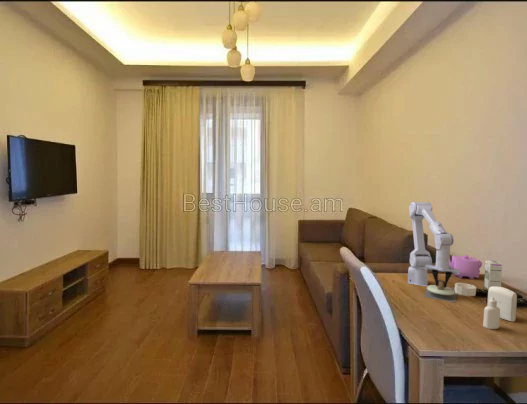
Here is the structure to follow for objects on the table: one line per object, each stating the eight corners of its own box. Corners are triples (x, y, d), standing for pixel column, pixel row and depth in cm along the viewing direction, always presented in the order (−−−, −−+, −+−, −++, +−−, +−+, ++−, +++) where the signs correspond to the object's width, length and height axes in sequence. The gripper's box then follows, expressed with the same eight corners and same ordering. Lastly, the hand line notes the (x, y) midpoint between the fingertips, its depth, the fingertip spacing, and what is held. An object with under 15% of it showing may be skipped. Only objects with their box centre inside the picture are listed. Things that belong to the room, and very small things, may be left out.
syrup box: (501, 291, 171) (503, 263, 169) (488, 290, 172) (490, 262, 171) (495, 287, 176) (497, 260, 175) (483, 286, 177) (485, 259, 176)
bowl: (454, 294, 165) (454, 286, 165) (454, 289, 173) (455, 281, 172) (475, 298, 160) (476, 290, 160) (475, 292, 168) (475, 284, 168)
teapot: (478, 275, 197) (479, 254, 196) (483, 280, 188) (485, 258, 187) (440, 272, 204) (441, 251, 203) (443, 276, 194) (445, 255, 193)
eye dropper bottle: (480, 323, 133) (482, 294, 132) (497, 326, 131) (499, 296, 130) (484, 328, 128) (486, 298, 127) (501, 330, 127) (503, 300, 126)
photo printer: (484, 313, 143) (486, 284, 142) (490, 311, 145) (492, 283, 144) (511, 322, 134) (513, 292, 133) (517, 320, 136) (519, 291, 135)
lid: (425, 291, 160) (426, 282, 160) (428, 285, 170) (428, 275, 170) (454, 296, 154) (455, 286, 154) (455, 289, 164) (456, 279, 164)
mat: (423, 297, 160) (423, 296, 160) (426, 289, 171) (426, 288, 171) (455, 303, 153) (455, 302, 153) (456, 294, 165) (456, 293, 165)
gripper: (425, 258, 161) (423, 285, 162) (460, 262, 154) (458, 291, 155) (426, 255, 167) (425, 281, 168) (460, 259, 160) (458, 287, 161)
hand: (441, 286), depth 162 cm, fingers closed on lid, 3 cm apart
